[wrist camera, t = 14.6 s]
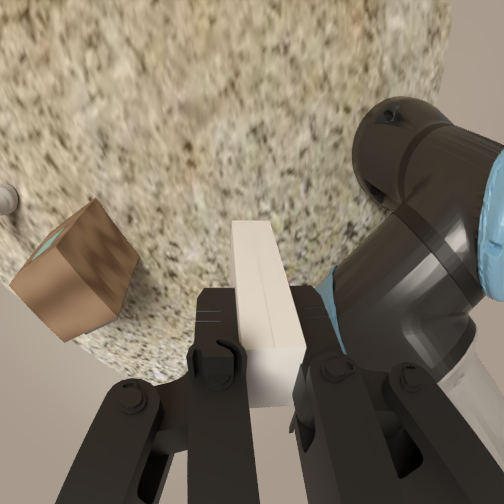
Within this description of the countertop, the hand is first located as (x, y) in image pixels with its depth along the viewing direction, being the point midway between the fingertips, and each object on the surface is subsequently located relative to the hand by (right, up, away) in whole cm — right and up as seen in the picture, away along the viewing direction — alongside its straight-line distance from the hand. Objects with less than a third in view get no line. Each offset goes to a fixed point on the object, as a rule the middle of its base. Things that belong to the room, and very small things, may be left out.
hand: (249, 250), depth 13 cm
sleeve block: (-22, +1, +26) cm, 34 cm away
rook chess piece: (-34, +8, +21) cm, 41 cm away
